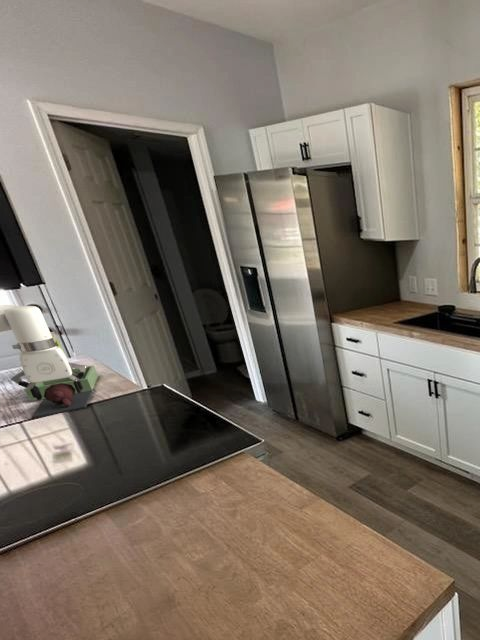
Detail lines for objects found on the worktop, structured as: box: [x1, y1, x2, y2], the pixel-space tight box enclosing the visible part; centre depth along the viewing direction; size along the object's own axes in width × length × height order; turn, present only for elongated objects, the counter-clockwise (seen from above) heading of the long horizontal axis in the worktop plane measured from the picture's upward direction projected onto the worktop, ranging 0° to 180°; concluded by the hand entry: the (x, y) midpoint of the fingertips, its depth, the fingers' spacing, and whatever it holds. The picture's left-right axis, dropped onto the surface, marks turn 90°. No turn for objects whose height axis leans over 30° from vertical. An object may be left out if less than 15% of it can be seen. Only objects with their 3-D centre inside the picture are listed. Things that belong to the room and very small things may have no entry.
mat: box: [31, 390, 93, 419], centre depth 138 cm, size 12×18×1 cm, turn 39°
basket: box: [23, 365, 99, 402], centre depth 152 cm, size 16×20×4 cm
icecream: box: [44, 383, 75, 407], centre depth 137 cm, size 7×7×15 cm
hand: (60, 395), depth 137 cm, fingers open, 9 cm apart
